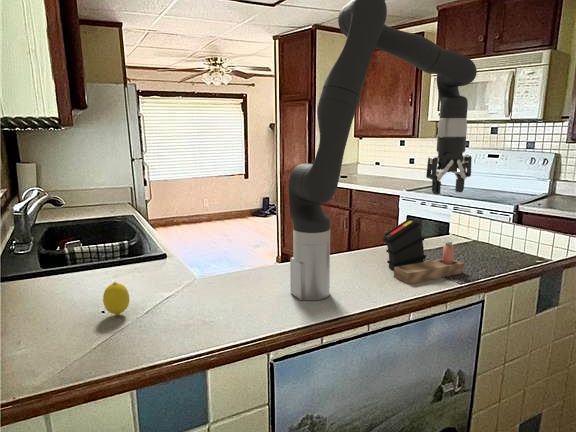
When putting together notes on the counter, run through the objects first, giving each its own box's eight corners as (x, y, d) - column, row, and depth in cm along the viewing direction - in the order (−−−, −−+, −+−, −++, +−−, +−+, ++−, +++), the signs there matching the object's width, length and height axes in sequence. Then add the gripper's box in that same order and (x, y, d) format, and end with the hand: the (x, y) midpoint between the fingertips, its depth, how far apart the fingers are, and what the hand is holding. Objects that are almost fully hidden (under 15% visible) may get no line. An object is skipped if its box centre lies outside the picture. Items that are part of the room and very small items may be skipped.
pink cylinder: (446, 273, 123) (448, 243, 121) (439, 270, 125) (441, 241, 124) (454, 272, 124) (456, 242, 122) (447, 269, 127) (449, 240, 125)
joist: (407, 283, 115) (408, 273, 115) (393, 277, 121) (394, 267, 120) (463, 272, 124) (464, 263, 123) (448, 267, 129) (448, 257, 128)
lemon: (103, 322, 94) (100, 288, 92) (106, 312, 99) (103, 279, 98) (129, 318, 95) (126, 285, 94) (131, 309, 101) (128, 277, 99)
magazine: (433, 260, 130) (418, 219, 125) (400, 283, 127) (383, 241, 122) (425, 257, 134) (410, 216, 129) (392, 279, 131) (376, 238, 126)
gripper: (460, 135, 124) (456, 190, 127) (422, 135, 118) (418, 192, 121) (481, 135, 117) (476, 193, 120) (441, 135, 111) (437, 196, 114)
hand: (447, 193), depth 121 cm, fingers open, 8 cm apart
